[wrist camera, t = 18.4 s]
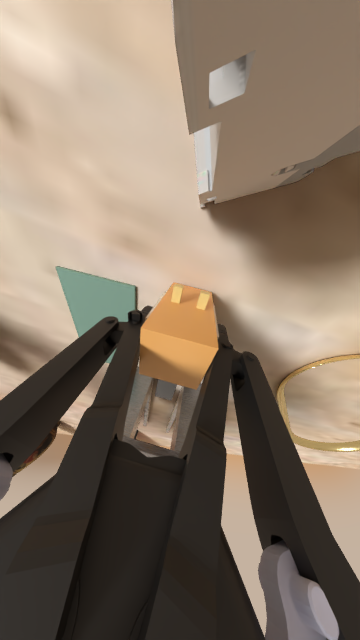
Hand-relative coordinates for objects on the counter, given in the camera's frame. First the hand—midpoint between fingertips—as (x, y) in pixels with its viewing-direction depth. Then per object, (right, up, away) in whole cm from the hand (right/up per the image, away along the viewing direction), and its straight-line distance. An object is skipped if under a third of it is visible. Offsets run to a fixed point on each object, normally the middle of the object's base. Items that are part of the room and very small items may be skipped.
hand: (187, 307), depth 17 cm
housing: (-6, -26, +20) cm, 34 cm away
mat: (-15, -3, +7) cm, 17 cm away
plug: (-1, -5, +4) cm, 6 cm away
